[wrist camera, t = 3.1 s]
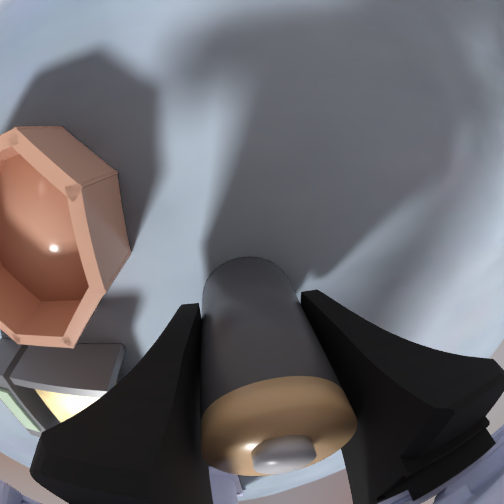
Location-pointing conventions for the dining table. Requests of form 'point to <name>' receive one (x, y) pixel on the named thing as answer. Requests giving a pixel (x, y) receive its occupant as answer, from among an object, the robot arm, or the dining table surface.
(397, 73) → the dining table surface
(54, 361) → the battery checker
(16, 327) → the cup
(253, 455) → the cell
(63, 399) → the plunger
